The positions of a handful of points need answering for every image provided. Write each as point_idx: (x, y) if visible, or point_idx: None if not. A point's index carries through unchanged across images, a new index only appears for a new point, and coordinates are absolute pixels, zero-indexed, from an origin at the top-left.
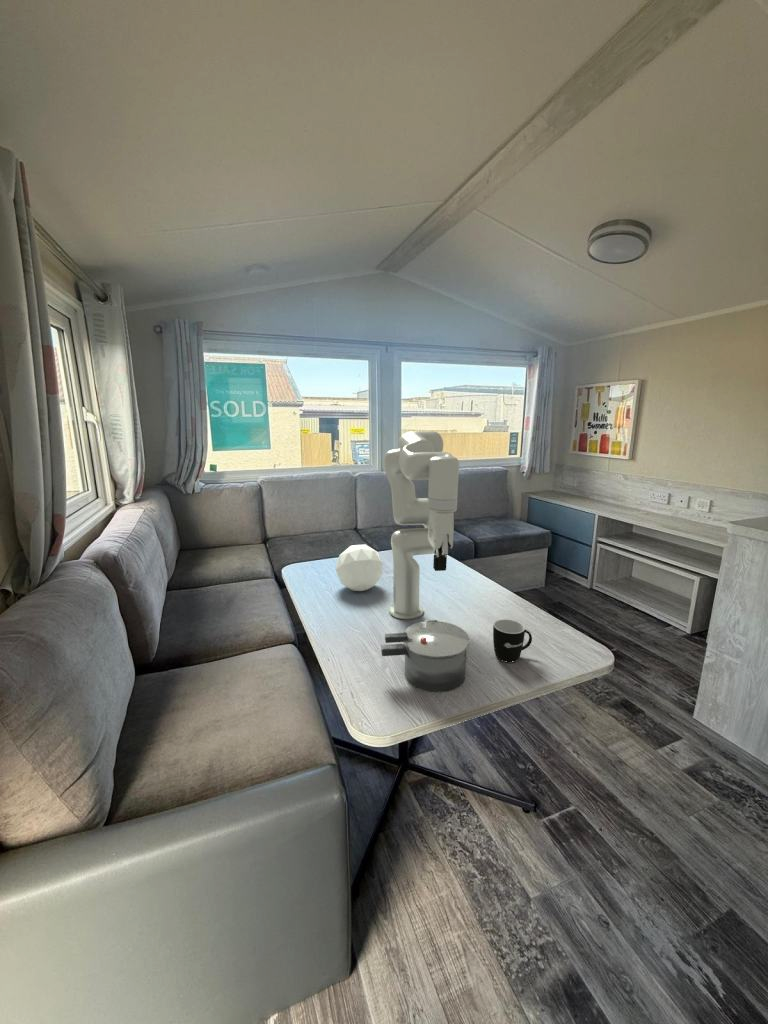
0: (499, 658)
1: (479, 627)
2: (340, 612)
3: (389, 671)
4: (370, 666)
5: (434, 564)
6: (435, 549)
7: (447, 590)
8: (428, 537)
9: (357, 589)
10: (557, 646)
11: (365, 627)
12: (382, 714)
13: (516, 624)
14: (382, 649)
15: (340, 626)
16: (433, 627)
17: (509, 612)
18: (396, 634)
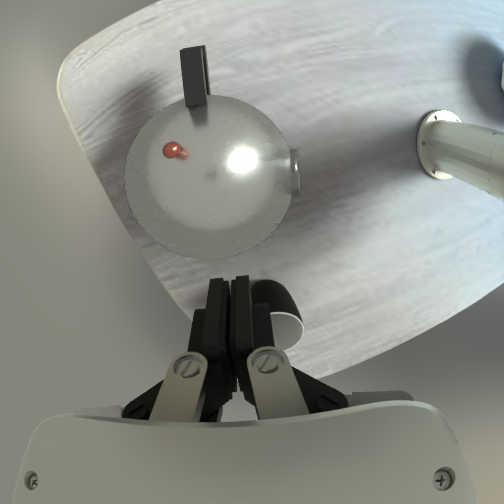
0: (256, 284)
1: (367, 270)
2: (441, 22)
3: (219, 74)
4: (238, 39)
5: (215, 299)
6: (253, 392)
7: (483, 238)
8: (365, 448)
9: (502, 74)
10: (290, 357)
11: (392, 48)
12: (98, 78)
13: (289, 343)
14: (182, 49)
15: (393, 5)
16: (256, 181)
17: (396, 319)
18: (195, 76)
